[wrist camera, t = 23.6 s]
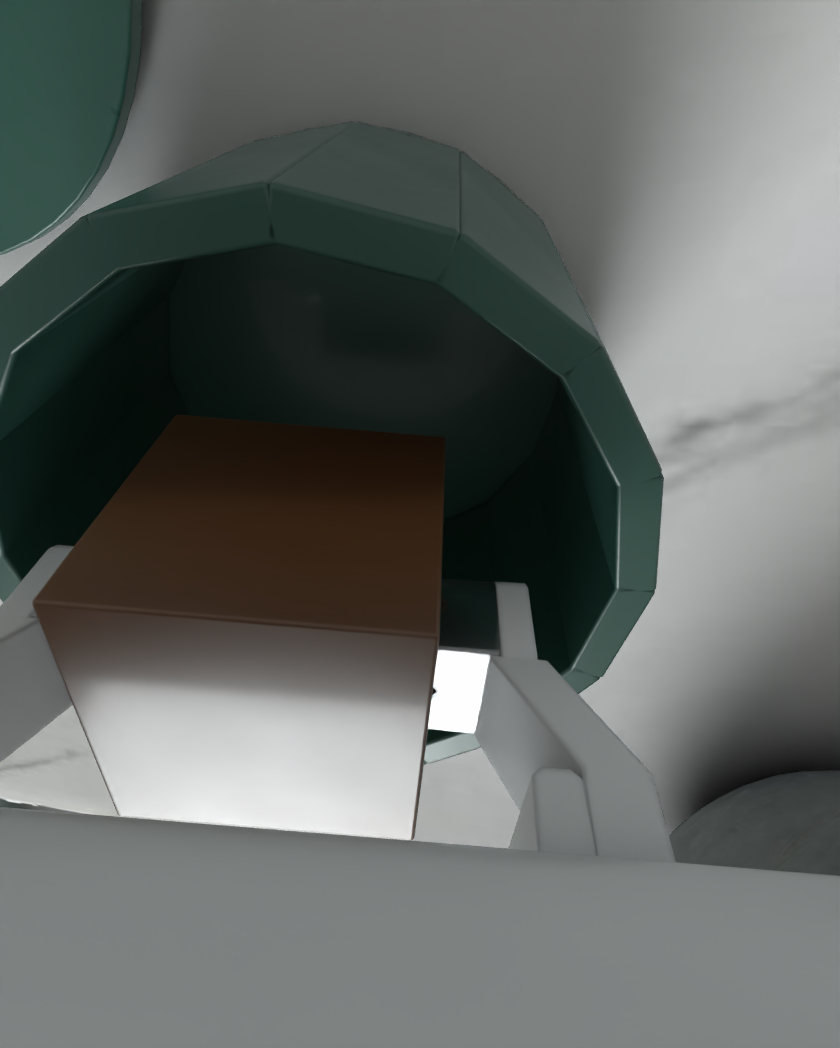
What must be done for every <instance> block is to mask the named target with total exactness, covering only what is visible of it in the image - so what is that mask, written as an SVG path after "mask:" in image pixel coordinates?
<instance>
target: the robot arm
mask: <svg viewBox="0 0 840 1048" xmlns="http://www.w3.org/2000/svg"><path fill="white" fill-rule="evenodd" d="M73 547H74V546H67V545H56V546H53V547H51V548H49V549H48V550H47V551H46V552H45V553H44V554H43V556H42V557H41V558H40V559H39V561H38V562H37V563H36V564H35V565H34V567H33V568H32V569H31V570H30V571H29V573H28V574H27V575H26V576H25V577H24V579H23V580H22V581H21V582H20V583H19V585H18V586H17V587H16V588H15V589H14V591H13V592H12V593H11V594H10V596H9V597H8V598H7V599H6V600H5V602H4V603H3V604H2V605H1V606H0V762H1V761H3V760H4V759H5V758H6V757H8V756H9V755H10V754H11V753H13V752H14V751H15V750H16V749H18V748H19V747H20V746H21V745H23V744H24V743H25V742H26V741H28V740H29V739H30V738H31V737H33V736H34V735H35V734H37V733H38V732H39V731H40V730H42V729H43V728H44V727H45V726H47V725H48V724H49V723H50V722H52V721H53V720H54V719H55V718H57V717H58V716H59V715H60V714H62V713H63V712H64V711H65V710H67V709H68V708H69V707H70V706H72V705H73V703H72V701H71V698H70V696H69V693H68V691H67V688H66V686H65V684H64V681H63V679H62V676H61V674H60V671H59V669H58V666H57V664H56V662H55V659H54V657H53V654H52V652H51V649H50V647H49V644H48V642H47V640H46V637H45V635H44V632H43V630H42V627H41V625H40V622H39V620H38V618H37V615H36V613H35V610H34V608H33V605H32V602H33V599H34V598H35V596H36V595H37V594H38V592H39V591H40V590H41V589H42V587H43V586H44V585H45V583H46V582H47V581H48V580H49V578H50V577H51V576H52V574H53V573H54V572H55V570H56V569H57V568H58V567H59V565H60V564H61V563H62V561H63V560H64V559H65V558H66V556H67V555H68V554H69V552H70V551H71V550H72V548H73ZM428 729H435V730H444V731H453V732H462V733H471V734H475V738H476V739H477V741H478V743H479V744H480V746H481V748H482V749H483V751H484V752H485V754H486V756H487V757H488V759H489V761H490V762H491V764H492V766H493V767H494V769H495V771H496V772H497V774H498V776H499V777H500V779H501V780H502V782H503V784H504V785H505V787H506V789H507V790H508V792H509V794H510V795H511V797H512V799H513V800H514V802H515V804H516V805H517V807H518V809H519V810H520V815H519V818H518V821H517V824H516V827H515V830H514V834H513V837H512V840H511V843H510V846H509V849H506V848H494V847H482V846H470V845H457V844H445V843H433V842H420V841H408V840H396V839H383V838H371V837H359V836H346V835H334V834H322V833H309V832H297V831H285V830H272V829H260V828H247V827H235V826H223V825H211V824H198V823H186V822H174V821H162V820H150V819H138V818H125V817H113V816H101V815H89V814H77V813H65V812H52V811H40V810H28V809H16V808H4V807H0V1048H840V876H836V875H823V874H811V873H799V872H787V871H775V870H762V869H750V868H738V867H726V866H714V865H701V864H689V863H677V862H676V861H675V857H674V853H673V849H672V846H671V842H670V838H669V835H668V831H667V827H666V823H665V820H664V816H663V812H662V809H661V805H660V801H659V797H658V794H657V790H656V786H655V783H654V779H653V775H652V773H651V772H650V771H649V770H648V769H647V768H646V767H645V766H644V765H643V764H642V763H641V762H640V761H639V759H638V758H637V757H636V756H635V755H634V754H633V753H632V752H631V751H630V750H629V749H628V748H627V746H626V745H625V744H624V743H623V742H622V741H621V740H620V739H619V738H618V737H617V736H616V735H615V733H614V732H613V731H612V730H611V729H610V728H609V727H608V726H607V725H606V724H605V723H604V722H603V721H602V719H601V718H600V717H599V716H598V715H597V714H596V713H595V712H594V711H593V710H592V709H591V708H590V706H589V705H588V704H587V703H586V702H585V701H584V700H583V699H582V698H581V697H580V696H579V695H578V694H577V692H576V691H575V690H574V689H573V688H572V687H571V686H570V685H569V684H568V683H567V682H566V681H565V679H564V678H563V677H562V676H561V675H560V674H559V673H558V672H557V671H556V670H555V669H554V668H553V667H552V665H551V664H550V663H549V662H548V661H546V660H538V658H537V651H536V643H535V636H534V629H533V621H532V614H531V607H530V599H529V592H528V587H527V586H526V584H525V583H509V582H487V581H474V580H461V579H448V578H442V581H441V614H440V639H439V646H438V654H437V662H436V670H435V678H434V686H433V694H432V702H431V710H430V718H429V725H428Z"/></svg>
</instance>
